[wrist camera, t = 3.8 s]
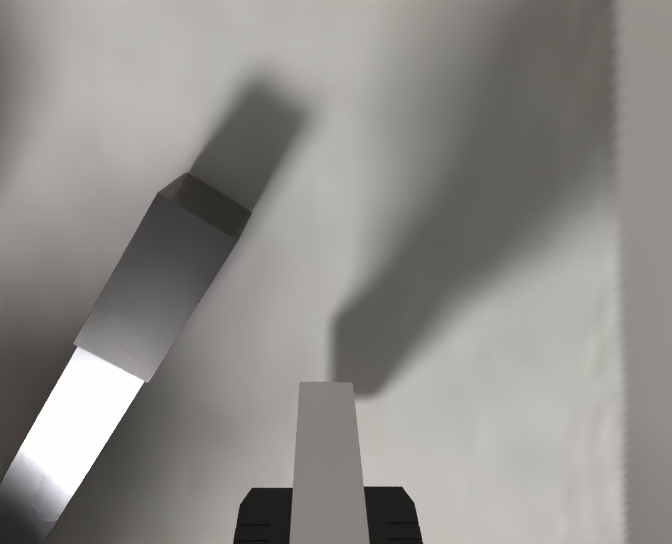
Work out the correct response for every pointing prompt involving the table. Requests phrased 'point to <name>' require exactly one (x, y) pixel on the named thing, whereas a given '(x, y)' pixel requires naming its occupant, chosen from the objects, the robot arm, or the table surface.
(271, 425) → the table surface
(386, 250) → the table surface
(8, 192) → the table surface
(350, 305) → the table surface
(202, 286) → the grey long bar
